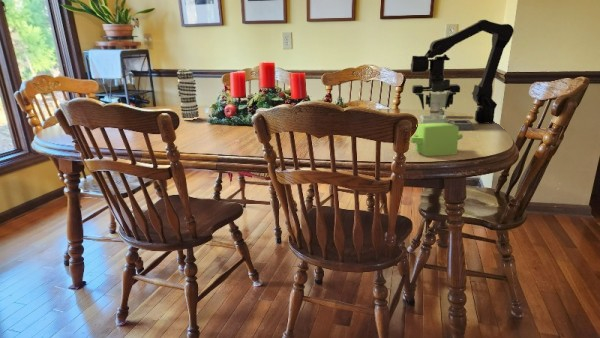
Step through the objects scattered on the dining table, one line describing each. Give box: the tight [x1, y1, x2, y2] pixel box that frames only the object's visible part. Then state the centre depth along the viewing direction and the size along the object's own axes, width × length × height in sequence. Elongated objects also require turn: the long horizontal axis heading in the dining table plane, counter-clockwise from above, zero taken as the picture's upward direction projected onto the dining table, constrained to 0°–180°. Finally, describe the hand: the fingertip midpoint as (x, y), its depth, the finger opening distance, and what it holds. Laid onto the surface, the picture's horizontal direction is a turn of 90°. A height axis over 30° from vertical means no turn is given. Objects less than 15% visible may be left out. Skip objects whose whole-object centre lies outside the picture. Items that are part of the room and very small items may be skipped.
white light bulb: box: [429, 102, 440, 119], centre depth 175 cm, size 4×4×8 cm
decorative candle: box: [176, 68, 200, 119], centre depth 207 cm, size 9×9×25 cm
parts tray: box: [419, 114, 449, 124], centre depth 176 cm, size 10×9×3 cm
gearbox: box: [409, 122, 464, 157], centre depth 134 cm, size 18×10×10 cm, turn 97°
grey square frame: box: [448, 119, 474, 131], centre depth 165 cm, size 8×8×2 cm
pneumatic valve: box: [424, 91, 454, 115], centre depth 187 cm, size 6×12×12 cm, turn 75°
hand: (434, 109), depth 175 cm, fingers open, 9 cm apart
